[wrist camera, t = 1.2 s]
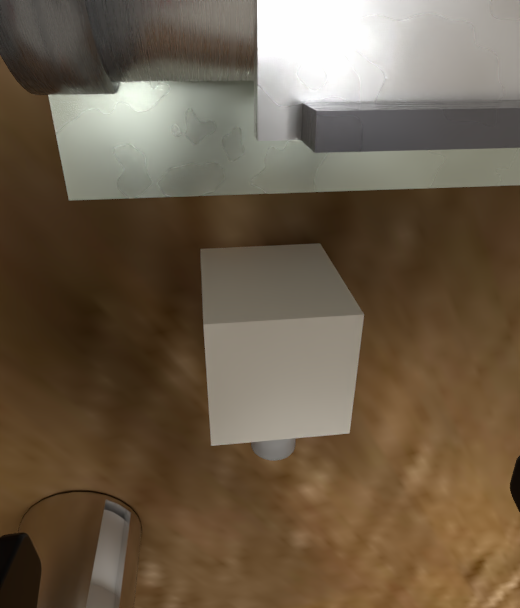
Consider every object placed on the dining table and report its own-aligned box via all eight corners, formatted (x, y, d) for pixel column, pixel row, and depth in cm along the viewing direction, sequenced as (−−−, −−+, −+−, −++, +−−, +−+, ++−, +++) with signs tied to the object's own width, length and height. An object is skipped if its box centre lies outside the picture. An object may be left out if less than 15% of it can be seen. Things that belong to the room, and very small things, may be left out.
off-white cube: (319, 242, 20) (364, 314, 15) (311, 376, 24) (344, 472, 18) (200, 248, 20) (203, 324, 14) (209, 383, 23) (213, 485, 18)
